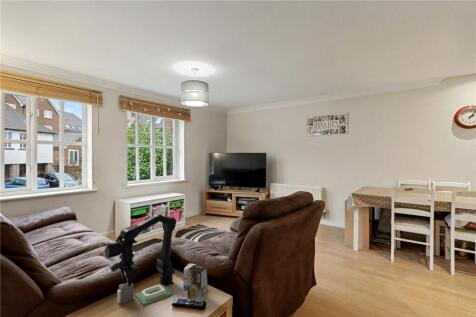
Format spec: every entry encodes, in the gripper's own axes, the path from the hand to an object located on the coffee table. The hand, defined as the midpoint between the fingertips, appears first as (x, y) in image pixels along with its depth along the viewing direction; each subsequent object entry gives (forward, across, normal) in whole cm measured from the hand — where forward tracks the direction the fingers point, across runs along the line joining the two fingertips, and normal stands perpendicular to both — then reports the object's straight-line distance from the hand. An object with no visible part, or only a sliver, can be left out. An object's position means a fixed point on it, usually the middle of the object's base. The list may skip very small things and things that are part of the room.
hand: (126, 282), depth 128 cm
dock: (+9, +5, +13) cm, 17 cm away
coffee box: (+9, +22, +30) cm, 38 cm away
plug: (+9, 0, 0) cm, 9 cm away
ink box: (+10, +9, +33) cm, 35 cm away
